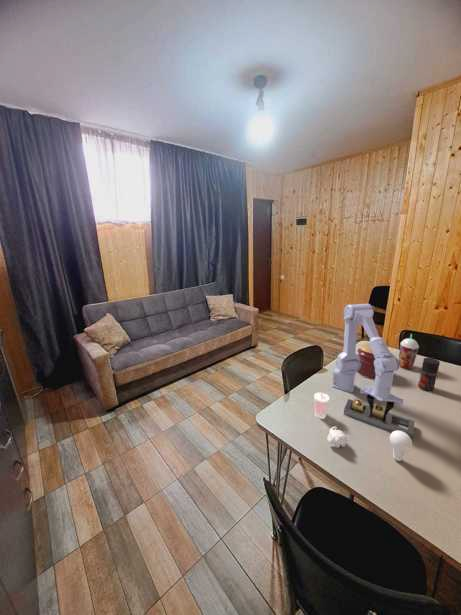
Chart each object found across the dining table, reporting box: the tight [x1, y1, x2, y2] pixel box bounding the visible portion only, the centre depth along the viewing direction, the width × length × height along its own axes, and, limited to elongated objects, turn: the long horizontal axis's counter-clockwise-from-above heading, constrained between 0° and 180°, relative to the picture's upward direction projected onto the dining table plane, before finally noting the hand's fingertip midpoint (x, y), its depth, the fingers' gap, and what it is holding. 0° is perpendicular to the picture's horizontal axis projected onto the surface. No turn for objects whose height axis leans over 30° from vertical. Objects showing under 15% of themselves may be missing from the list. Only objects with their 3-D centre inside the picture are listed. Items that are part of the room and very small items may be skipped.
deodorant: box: [417, 357, 440, 393], centre depth 118 cm, size 6×6×15 cm
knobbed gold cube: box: [371, 402, 386, 421], centre depth 100 cm, size 4×4×6 cm
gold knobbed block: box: [351, 398, 366, 414], centre depth 105 cm, size 4×4×6 cm
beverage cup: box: [313, 385, 330, 419], centre depth 103 cm, size 6×6×14 cm
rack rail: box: [343, 398, 415, 441], centre depth 101 cm, size 24×8×2 cm, turn 53°
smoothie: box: [398, 333, 420, 370], centre depth 136 cm, size 8×8×20 cm
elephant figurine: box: [326, 425, 350, 449], centre depth 89 cm, size 7×8×6 cm
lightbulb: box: [389, 430, 413, 462], centre depth 82 cm, size 6×6×11 cm
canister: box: [356, 342, 376, 379], centre depth 133 cm, size 13×13×18 cm
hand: (378, 413), depth 100 cm, fingers closed on knobbed gold cube, 4 cm apart
